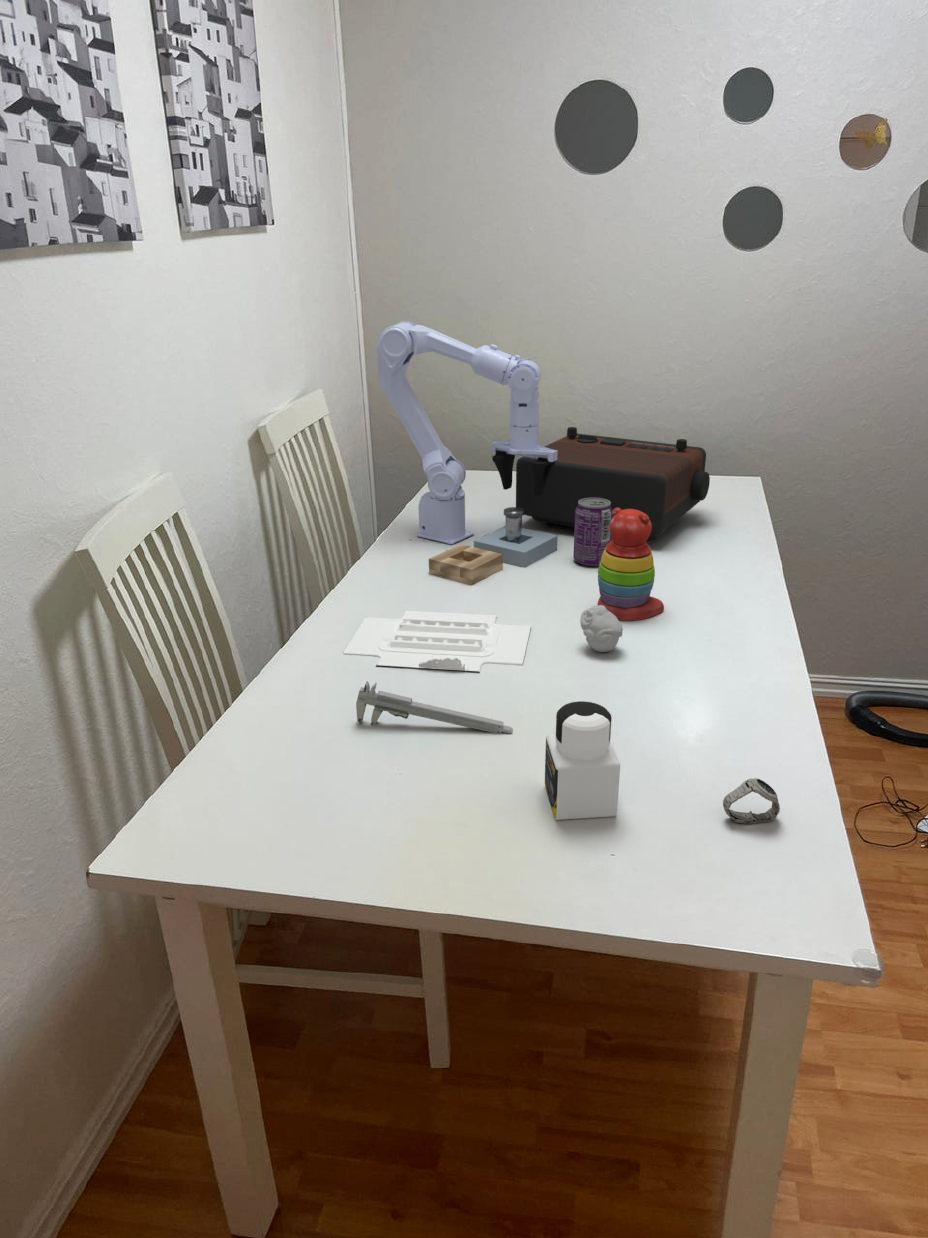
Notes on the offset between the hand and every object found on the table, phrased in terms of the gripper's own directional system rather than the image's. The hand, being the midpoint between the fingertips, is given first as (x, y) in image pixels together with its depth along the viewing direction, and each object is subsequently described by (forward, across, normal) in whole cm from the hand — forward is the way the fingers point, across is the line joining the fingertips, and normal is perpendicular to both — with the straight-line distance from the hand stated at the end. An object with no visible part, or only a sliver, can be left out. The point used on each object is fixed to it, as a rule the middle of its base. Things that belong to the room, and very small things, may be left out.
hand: (523, 491), depth 182 cm
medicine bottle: (+11, +55, -72) cm, 91 cm away
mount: (+10, +1, -21) cm, 23 cm away
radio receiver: (+11, +10, +21) cm, 26 cm away
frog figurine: (+11, +38, -36) cm, 53 cm away
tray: (+11, +16, -48) cm, 51 cm away
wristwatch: (+11, +72, -64) cm, 97 cm away
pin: (+9, +3, -8) cm, 13 cm away
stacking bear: (+11, +34, -20) cm, 41 cm away
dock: (+10, +3, -7) cm, 13 cm away
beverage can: (+11, +18, -3) cm, 21 cm away
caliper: (+11, +31, -69) cm, 76 cm away
